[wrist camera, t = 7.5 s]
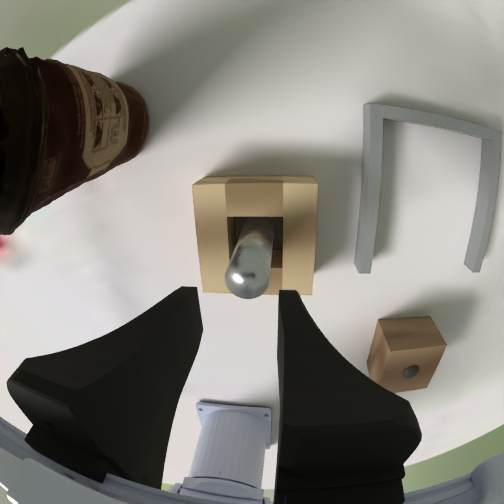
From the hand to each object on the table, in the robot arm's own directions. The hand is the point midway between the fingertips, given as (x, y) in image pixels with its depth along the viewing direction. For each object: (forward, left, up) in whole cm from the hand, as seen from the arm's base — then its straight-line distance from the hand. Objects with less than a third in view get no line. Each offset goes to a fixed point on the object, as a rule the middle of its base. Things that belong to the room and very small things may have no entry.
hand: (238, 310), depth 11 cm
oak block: (0, 0, -9) cm, 9 cm away
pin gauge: (0, 0, -9) cm, 9 cm away
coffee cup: (+8, +10, -10) cm, 16 cm away
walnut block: (-10, -12, -10) cm, 18 cm away
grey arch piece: (+2, -12, -9) cm, 15 cm away
